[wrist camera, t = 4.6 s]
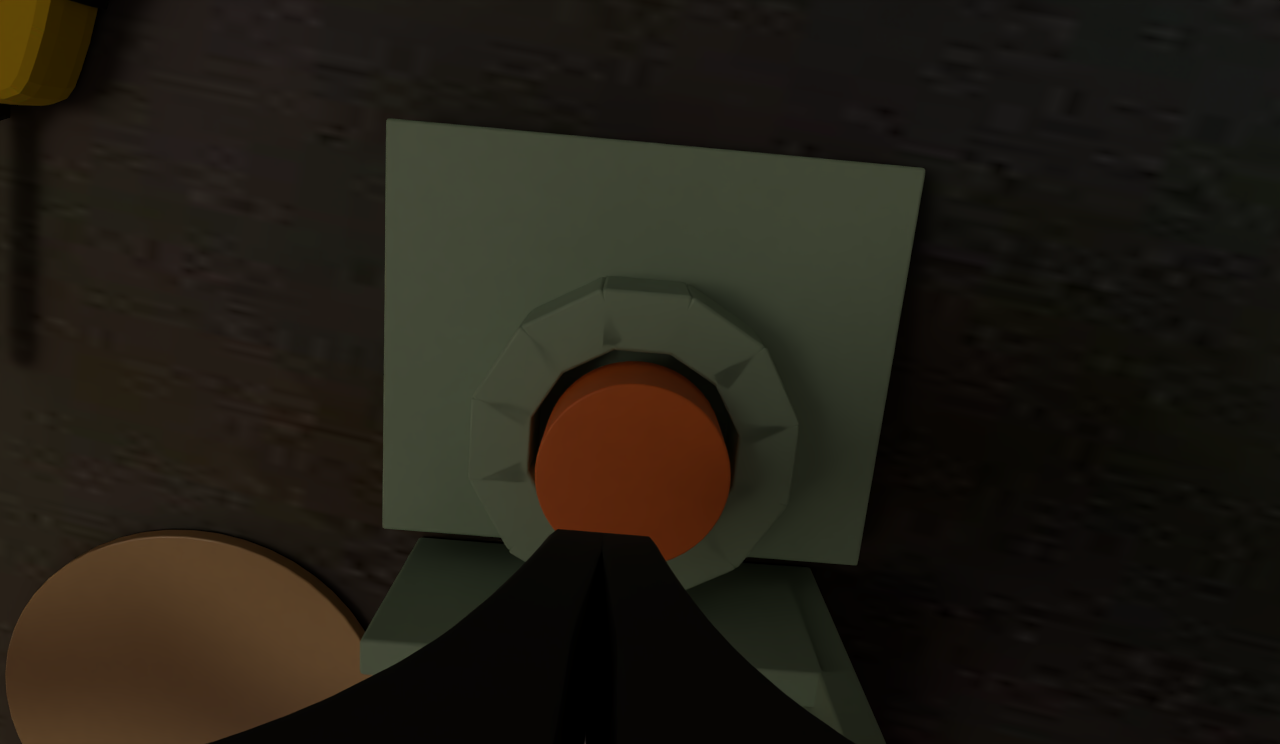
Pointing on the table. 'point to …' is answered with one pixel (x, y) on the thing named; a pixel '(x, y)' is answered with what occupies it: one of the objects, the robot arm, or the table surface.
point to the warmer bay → (734, 602)
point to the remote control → (43, 49)
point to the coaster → (175, 643)
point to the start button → (634, 457)
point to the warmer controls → (638, 322)
